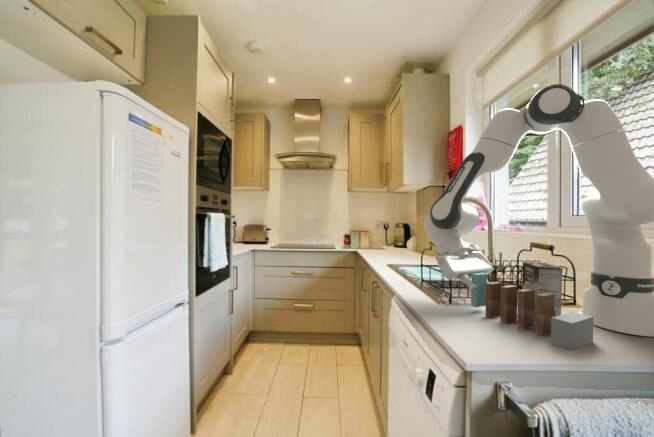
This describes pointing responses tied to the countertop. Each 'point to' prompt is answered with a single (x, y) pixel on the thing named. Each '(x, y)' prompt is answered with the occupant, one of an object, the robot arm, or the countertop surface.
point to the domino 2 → (493, 299)
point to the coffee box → (543, 282)
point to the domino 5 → (544, 313)
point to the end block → (572, 330)
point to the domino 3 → (508, 303)
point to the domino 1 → (479, 290)
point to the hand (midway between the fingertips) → (481, 287)
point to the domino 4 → (526, 308)
